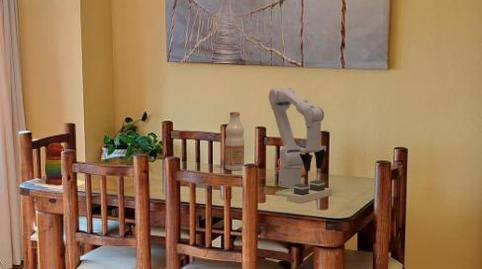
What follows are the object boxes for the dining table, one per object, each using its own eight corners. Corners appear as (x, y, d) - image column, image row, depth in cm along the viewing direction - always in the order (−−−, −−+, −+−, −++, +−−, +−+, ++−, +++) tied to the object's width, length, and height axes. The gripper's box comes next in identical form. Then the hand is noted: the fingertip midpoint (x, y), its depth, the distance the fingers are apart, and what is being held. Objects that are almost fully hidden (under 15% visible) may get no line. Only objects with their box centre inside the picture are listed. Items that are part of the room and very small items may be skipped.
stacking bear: (59, 185, 300) (58, 145, 298) (39, 183, 304) (38, 143, 301) (73, 181, 310) (72, 141, 308) (54, 179, 314) (53, 140, 311)
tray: (275, 195, 285) (275, 192, 284) (289, 192, 291) (289, 188, 291) (292, 199, 278) (292, 195, 278) (306, 196, 285) (306, 192, 285)
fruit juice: (221, 169, 340) (221, 112, 336) (230, 166, 348) (231, 111, 344) (238, 171, 336) (238, 113, 332) (247, 168, 344) (247, 112, 340)
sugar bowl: (306, 178, 320) (307, 156, 318) (276, 178, 320) (276, 156, 319) (304, 173, 332) (305, 152, 331) (275, 173, 332) (275, 152, 331)
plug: (293, 199, 276) (293, 184, 275) (300, 197, 279) (300, 183, 278) (302, 201, 273) (302, 186, 272) (308, 199, 276) (309, 184, 275)
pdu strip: (286, 201, 274) (286, 193, 274) (317, 193, 289) (318, 186, 288) (300, 204, 270) (300, 196, 269) (331, 196, 284) (331, 189, 283)
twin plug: (309, 195, 283) (310, 181, 282) (316, 194, 286) (316, 179, 285) (318, 197, 280) (318, 182, 279) (324, 195, 283) (324, 181, 282)
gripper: (310, 139, 277) (309, 173, 279) (332, 136, 287) (331, 168, 289) (296, 138, 282) (296, 170, 283) (318, 134, 292) (318, 166, 294)
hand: (313, 169), depth 286 cm, fingers open, 7 cm apart
